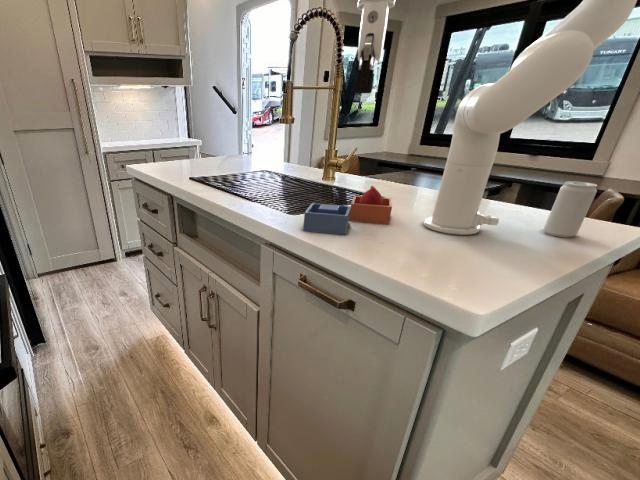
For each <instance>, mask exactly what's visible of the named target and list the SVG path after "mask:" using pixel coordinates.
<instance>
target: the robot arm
mask: <svg viewBox="0 0 640 480" xmlns="http://www.w3.org/2000/svg"><path fill="white" fill-rule="evenodd" d="M637 1H638V0H582V1H581V2H580V3H579V4H578V6H576V7H575V8H574V9H573V10H572V11H571V12H569V13H568V14H567V15H566V16H565V17H564V18H563V19H561V20H560V21H559V22H558V23H557V24H555V25H554V26H553V27H552V28H551V29H550V30H548V31H547V32H545V33H544V34H543V35H542V36H540V37H539V38H538V39H537V40H535V41H534V42H532V43H531V44H530V45H529V46H527V47H526V48H524V50H523V51H521V52H520V53H519V55H518V56H517V57H516V58H515V60H514V61H513V63H512V64H511V67H510V70H508V71H507V73H505V74H504V75H503V76H501V77H500V78H499V79H497V80H496V81H495V82H491V83H489V82H488V83H485V84H481V85H479V86H477V87H475V88H474V89H472V90H470V91H469V92H468V93H467V94H466V95H465V96H464V97H463V98H462V100H461V102H460V103H459V105H458V107H457V110H456V113H455V118H454V124H453V129H452V137H451V142H450V146H449V149H448V154H447V158H446V162H445V166H444V170H443V174H442V178H441V180H440V185H439V189H438V193H437V196H436V200H435V204H434V208H433V212H432V216H430V217H427V218H425V219H424V221H423V225H424V226H425V227H426V228H427V229H429V230H432V231H434V232H438V233H443V234H449V235H460V236H461V235H463V236H465V235H466V236H467V235H469V236H470V235H474V234H475V235H476V234H477V233H479V232H480V230H481V226H482V225H489V226H497V225H498V224H499V221H500V217H499V216H491V215H488V214H482V213H480V211H479V209H480V206H481V203H482V200H483V197H484V193H485V190H486V187H487V184H488V180H489V178H490V174H491V171H492V168H493V165H494V162H495V159H496V155H497V152H498V148H499V143H500V139H501V138H500V137H501V134H503V133H505V132H508V131H510V130H511V129H512V130H513V128H515V127H517V126H518V125H519V124H522V123H523V122H524V121H525V120H527V119H528V118H529V117H531V116H532V115H533V114H535V113H537V112H538V111H539V110H541V109H542V108H544V107H545V106H546V105H548V104H549V103H550V102H551V101H553V100H554V99H556V98H557V97H558V96H560V95H561V94H562V93H564V92H565V91H566V90H568V89H569V88H570V87H572V86H573V85H574V84H575V83H576V82H577V81H578V80H579V79H580V78H581V77H582V76H583V75H584V73H585V72H586V71H587V69H589V66H590V64H591V61H592V60H593V56H594V50H596V49H598V47H599V46H601V45H602V44H603V43H604V42H606V41H607V40H608V39H609V38H610V37H612V36H613V35H614V34H615V33H616V32H617V31H619V30H620V28H621V27H622V26H623V25H624V24H625V23H626V22H627V20H628V19H629V17H630V16H631V14H632V12H633V10H634V9H635V6H636V4H637ZM395 5H396V0H357V7H356V9H357V10H358V11H362V12H361V20H360V28H359V34H358V35H359V36H358V46H357V47H358V48H357V60H358V62H359V64H358V70H357V73H356V79H355V80H356V81H355V87H354V91H355V92H356V93H358V94H371V93H372V91H373V86H374V85H373V84H374V79H375V73H374V72H375V64H376V61H377V64H381V62H382V60H383V59H382V58H383V53H384V46H385V40H386V33H387V29H388V18H389V9H392V8H394V7H395Z"/></svg>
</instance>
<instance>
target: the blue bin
mask: <svg viewBox="0 0 640 480" xmlns="http://www.w3.org/2000/svg"><path fill="white" fill-rule="evenodd" d="M321 205H330V204H329V203H316V202H312V203H310V205H309V206H308V207H307V209H306V210H305V211H304V215H303V216H304V217H303V226H302V227H303V229H302V231H303V232H313V233H322V234H333V235H341V236H342V235H344V236H345V235H346V232H347V229H348V226H349V223H350V221H349V217H350V210H351V205H341V204H340V205H339V204H333V205H334V206H339V210H338V215H335V214H324V213H318V209H319V207H320V206H321Z"/></svg>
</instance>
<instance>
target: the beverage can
mask: <svg viewBox="0 0 640 480" xmlns="http://www.w3.org/2000/svg"><path fill="white" fill-rule="evenodd" d="M597 187H598V184H596V183H593V182H587V181H586V182H585V181H573V180H571V181H569V180H568V181H565V182H564V184H563V185H562V186H560V188H559V191H558V193H557V195H556V197H555V201H554V203H553V205H552V207H551V210H550V212H549V215H548V217H547V219H546V222H545V223H544V227H543V230H544V231H545V234H548V235H549V236H553V237H558V238H572V237H574V236H576V235H578V233H579V230H580V229H581V227H582V225H583V223H584V220H585V218H586V215H587V214H588V211H589V210H590V207H591V206H592V203H593V201H594V199H595V197H596V194H597V192H598V190H597Z"/></svg>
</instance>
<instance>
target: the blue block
mask: <svg viewBox="0 0 640 480" xmlns="http://www.w3.org/2000/svg"><path fill="white" fill-rule="evenodd" d="M334 205H335V204H329V205H321V206H320V207H319V209H318V213H324V214H335V215H338V210H339V206H334Z"/></svg>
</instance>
